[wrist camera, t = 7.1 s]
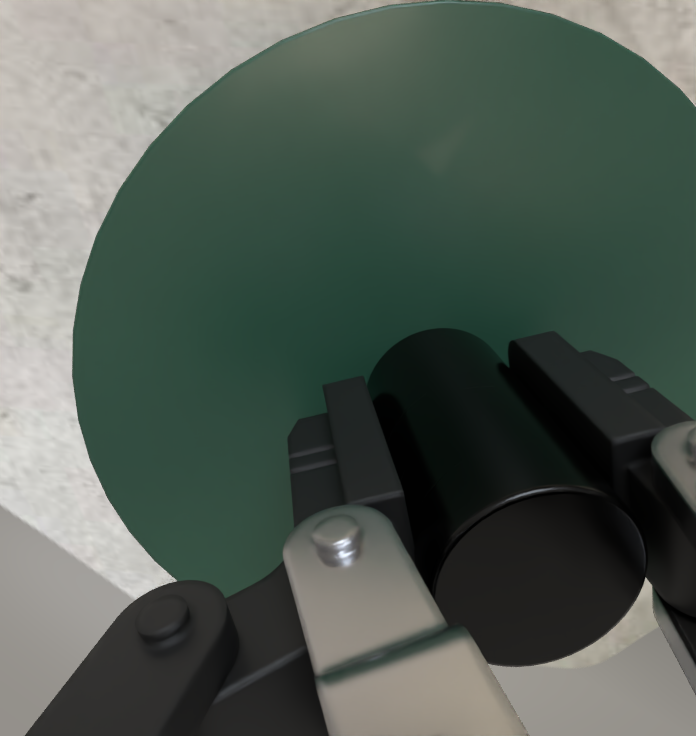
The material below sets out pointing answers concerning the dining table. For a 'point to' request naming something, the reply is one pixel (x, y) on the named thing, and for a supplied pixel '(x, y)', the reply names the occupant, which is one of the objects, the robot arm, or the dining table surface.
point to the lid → (398, 302)
